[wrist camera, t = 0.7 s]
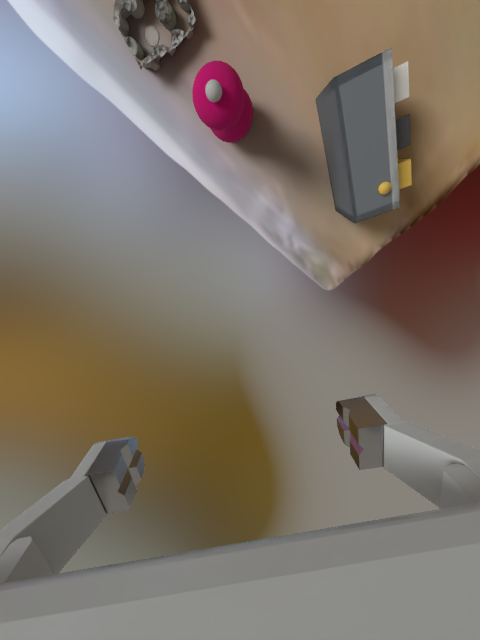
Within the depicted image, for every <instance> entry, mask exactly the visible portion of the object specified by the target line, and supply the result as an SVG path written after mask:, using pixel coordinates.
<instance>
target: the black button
mask: <svg viewBox="0 0 480 640" xmlns="http://www.w3.org/2000/svg"><path fill="white" fill-rule="evenodd" d="M395 122H396V141H397V150H398V149H400V148H403V147H405V146H407V145H410V114H408V115H405V116H402V117H399V118H396V119H395Z"/></svg>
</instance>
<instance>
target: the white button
mask: <svg viewBox="0 0 480 640" xmlns="http://www.w3.org/2000/svg"><path fill="white" fill-rule="evenodd" d="M393 85H394V104H395V103H397V102H399V101H401V100H403V99H405V98H407V97H409V77H408V61H407V62H405V63H403V64H401V65H399V66H397V67H395V68H393Z"/></svg>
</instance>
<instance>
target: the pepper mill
mask: <svg viewBox="0 0 480 640" xmlns="http://www.w3.org/2000/svg"><path fill="white" fill-rule="evenodd" d="M193 102H194V107H195V109H196V112H197V114H198V116H199V117H200V119H201V120H202V122H203V123H204V124H206V125H207V126H208V127H210V128H211V130H212V131H213V133H214V134H215V135H216V136H217V137H218V138H219V139H221V140H222V141H225V142H236V141H238V140H240V139H241V138H243V137H244V136H245V135H246V133H247V132H248V130H249V128H250V126H251V123H252V117H253V109H252V103H251V100H250V98H249V95H248V94H247V92H246V91H245V90H244V89H243V86H242V82H241V80H240V77H239V76H238V74H237V73H236V71H235V70H234V69H233V68H232V67H231V66H230V65H228V64H227V63H225V62H222V61H212V62H209V63H207V64H205V65H204V66H203V67H202V68H201V69H200V71H199V72H198V74H197V76H196V78H195V81H194V85H193Z"/></svg>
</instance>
